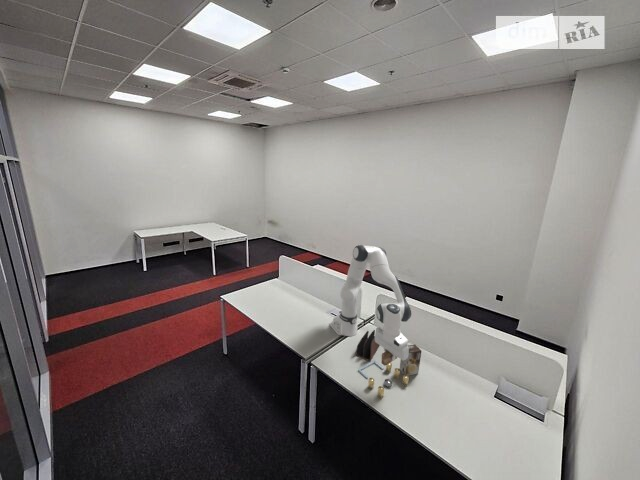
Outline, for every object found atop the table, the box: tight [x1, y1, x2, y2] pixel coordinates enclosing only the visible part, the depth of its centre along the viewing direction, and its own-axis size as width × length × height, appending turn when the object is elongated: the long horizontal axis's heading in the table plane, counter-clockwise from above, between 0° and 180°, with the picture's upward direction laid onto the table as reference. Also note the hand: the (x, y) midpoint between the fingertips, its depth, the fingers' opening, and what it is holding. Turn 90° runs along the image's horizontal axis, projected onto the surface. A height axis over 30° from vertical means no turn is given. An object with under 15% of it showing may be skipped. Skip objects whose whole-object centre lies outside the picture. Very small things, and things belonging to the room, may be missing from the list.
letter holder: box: [355, 329, 381, 362], centre depth 174 cm, size 10×20×14 cm, turn 150°
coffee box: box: [399, 344, 422, 376], centre depth 156 cm, size 9×6×16 cm
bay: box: [357, 360, 384, 380], centre depth 158 cm, size 7×14×1 cm, turn 125°
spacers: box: [367, 362, 410, 400], centre depth 148 cm, size 15×21×5 cm
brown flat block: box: [380, 350, 398, 367], centre depth 142 cm, size 2×10×6 cm, turn 125°
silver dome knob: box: [383, 378, 393, 389], centre depth 148 cm, size 4×4×2 cm
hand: (389, 357), depth 143 cm, fingers closed on brown flat block, 2 cm apart
